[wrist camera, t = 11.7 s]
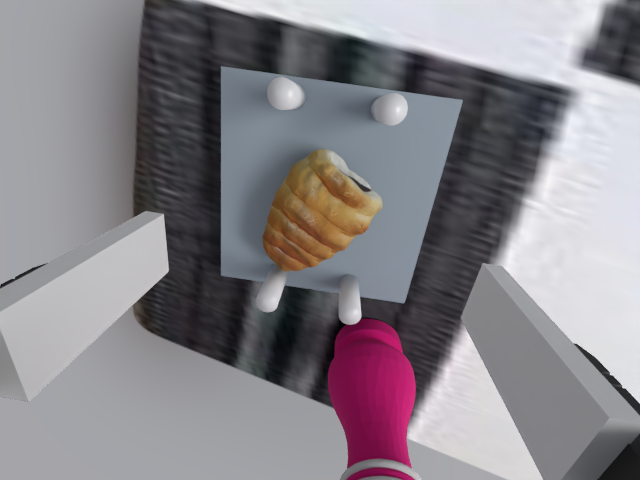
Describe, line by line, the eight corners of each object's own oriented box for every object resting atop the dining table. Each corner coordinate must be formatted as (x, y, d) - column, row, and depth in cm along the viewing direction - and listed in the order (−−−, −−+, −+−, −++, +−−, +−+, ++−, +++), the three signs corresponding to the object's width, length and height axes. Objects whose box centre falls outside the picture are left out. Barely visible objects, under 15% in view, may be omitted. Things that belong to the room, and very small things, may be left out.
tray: (227, 68, 21) (189, 55, 16) (456, 100, 21) (493, 98, 16) (225, 268, 28) (198, 306, 23) (402, 295, 27) (415, 339, 22)
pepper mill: (406, 312, 28) (520, 692, 10) (404, 371, 31) (490, 753, 13) (327, 314, 29) (297, 671, 11) (332, 371, 32) (315, 734, 13)
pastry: (311, 278, 26) (305, 304, 23) (245, 230, 25) (228, 250, 21) (388, 195, 23) (395, 210, 19) (316, 135, 22) (310, 139, 18)
